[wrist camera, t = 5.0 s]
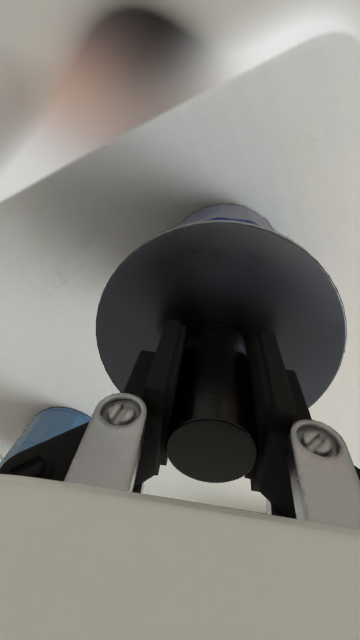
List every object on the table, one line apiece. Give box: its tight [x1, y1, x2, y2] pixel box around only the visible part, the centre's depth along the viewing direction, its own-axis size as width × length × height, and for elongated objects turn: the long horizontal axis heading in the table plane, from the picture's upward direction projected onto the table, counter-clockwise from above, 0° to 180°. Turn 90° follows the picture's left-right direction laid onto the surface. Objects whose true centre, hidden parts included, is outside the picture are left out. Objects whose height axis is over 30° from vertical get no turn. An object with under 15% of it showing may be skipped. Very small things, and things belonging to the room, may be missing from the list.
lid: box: [96, 220, 347, 483], centre depth 11 cm, size 10×10×6 cm
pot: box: [0, 407, 91, 466], centre depth 31 cm, size 9×9×9 cm
